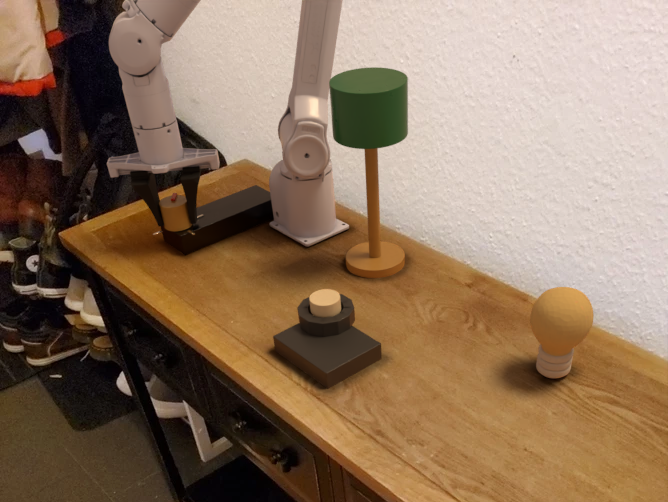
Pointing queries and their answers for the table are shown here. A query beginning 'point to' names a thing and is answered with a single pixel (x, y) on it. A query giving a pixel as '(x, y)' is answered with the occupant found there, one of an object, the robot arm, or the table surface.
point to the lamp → (371, 150)
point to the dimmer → (222, 220)
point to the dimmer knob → (175, 212)
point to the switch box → (327, 344)
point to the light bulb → (560, 328)
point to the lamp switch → (325, 303)
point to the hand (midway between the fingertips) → (177, 221)
